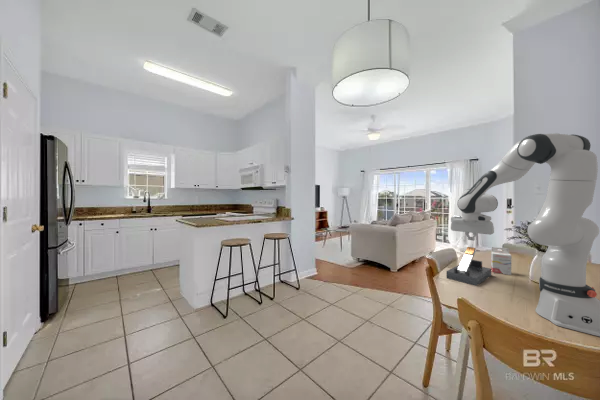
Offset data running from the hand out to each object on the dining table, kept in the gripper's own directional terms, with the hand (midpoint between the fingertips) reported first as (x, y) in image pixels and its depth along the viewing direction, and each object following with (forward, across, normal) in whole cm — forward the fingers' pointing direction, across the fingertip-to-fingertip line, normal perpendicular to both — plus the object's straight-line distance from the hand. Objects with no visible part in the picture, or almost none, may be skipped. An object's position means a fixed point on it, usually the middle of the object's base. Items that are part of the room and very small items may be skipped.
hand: (471, 240), depth 130 cm
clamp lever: (+11, 0, -6) cm, 13 cm away
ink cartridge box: (+21, +9, +18) cm, 29 cm away
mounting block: (+21, 0, -4) cm, 21 cm away
